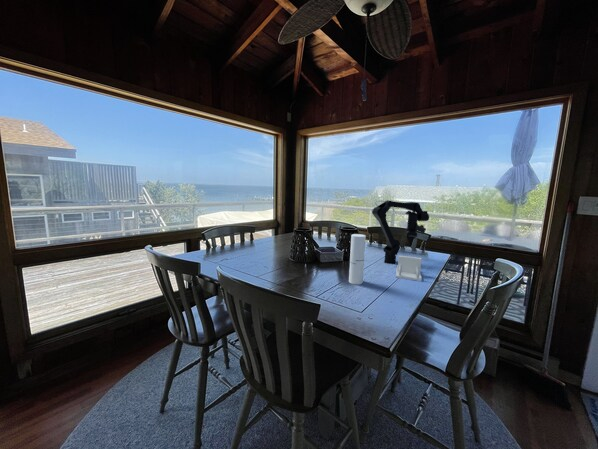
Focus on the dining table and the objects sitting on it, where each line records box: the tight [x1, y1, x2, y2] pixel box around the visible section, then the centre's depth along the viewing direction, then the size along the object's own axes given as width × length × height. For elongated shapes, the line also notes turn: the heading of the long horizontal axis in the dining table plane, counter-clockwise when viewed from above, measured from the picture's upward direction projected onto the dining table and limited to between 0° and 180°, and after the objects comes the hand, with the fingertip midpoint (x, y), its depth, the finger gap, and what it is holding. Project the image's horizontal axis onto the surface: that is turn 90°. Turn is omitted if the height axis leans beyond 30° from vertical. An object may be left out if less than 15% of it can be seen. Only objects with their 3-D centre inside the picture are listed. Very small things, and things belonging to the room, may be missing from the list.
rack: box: [395, 265, 423, 282], centre depth 147 cm, size 13×18×6 cm
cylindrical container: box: [348, 233, 367, 285], centre depth 132 cm, size 7×7×25 cm
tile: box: [397, 255, 422, 274], centre depth 146 cm, size 12×2×9 cm, turn 68°
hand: (410, 244), depth 171 cm, fingers open, 9 cm apart
